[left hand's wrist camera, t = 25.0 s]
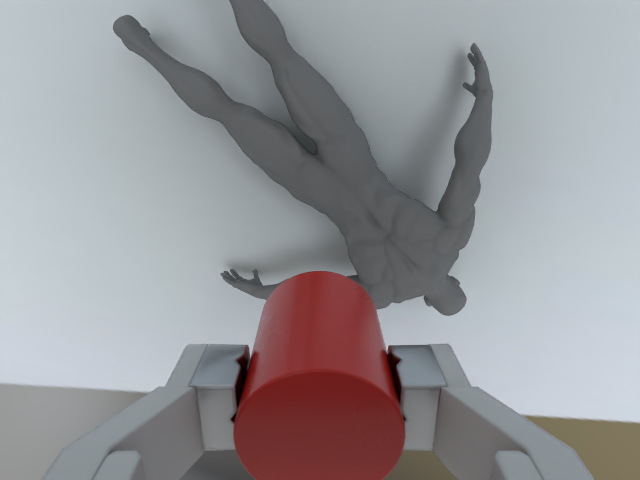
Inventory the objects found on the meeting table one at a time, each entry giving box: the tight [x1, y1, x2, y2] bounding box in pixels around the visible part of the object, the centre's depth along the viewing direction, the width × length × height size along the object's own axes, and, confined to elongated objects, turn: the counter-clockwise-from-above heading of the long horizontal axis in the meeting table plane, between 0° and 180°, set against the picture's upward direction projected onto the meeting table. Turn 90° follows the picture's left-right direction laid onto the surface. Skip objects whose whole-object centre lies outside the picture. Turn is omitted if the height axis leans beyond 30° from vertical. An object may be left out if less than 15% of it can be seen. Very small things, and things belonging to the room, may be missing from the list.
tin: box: [233, 271, 406, 480], centre depth 10 cm, size 4×4×4 cm
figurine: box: [113, 0, 493, 316], centre depth 19 cm, size 17×4×20 cm
